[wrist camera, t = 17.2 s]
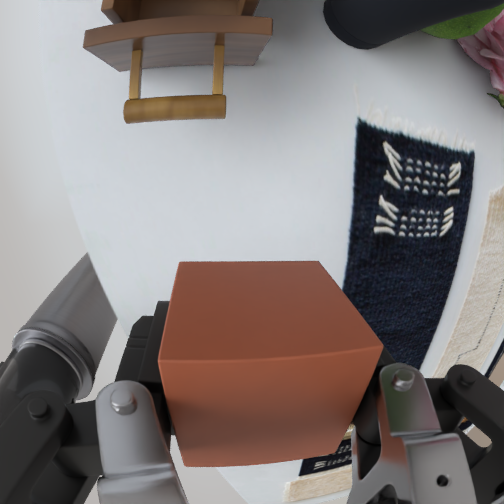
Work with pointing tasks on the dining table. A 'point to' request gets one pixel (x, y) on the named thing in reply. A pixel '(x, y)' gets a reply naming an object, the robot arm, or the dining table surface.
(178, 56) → the drawer
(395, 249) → the dining table surface
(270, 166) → the dining table surface
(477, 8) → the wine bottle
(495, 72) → the flower
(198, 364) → the block
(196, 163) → the dining table surface
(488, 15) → the fruit
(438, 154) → the dining table surface
